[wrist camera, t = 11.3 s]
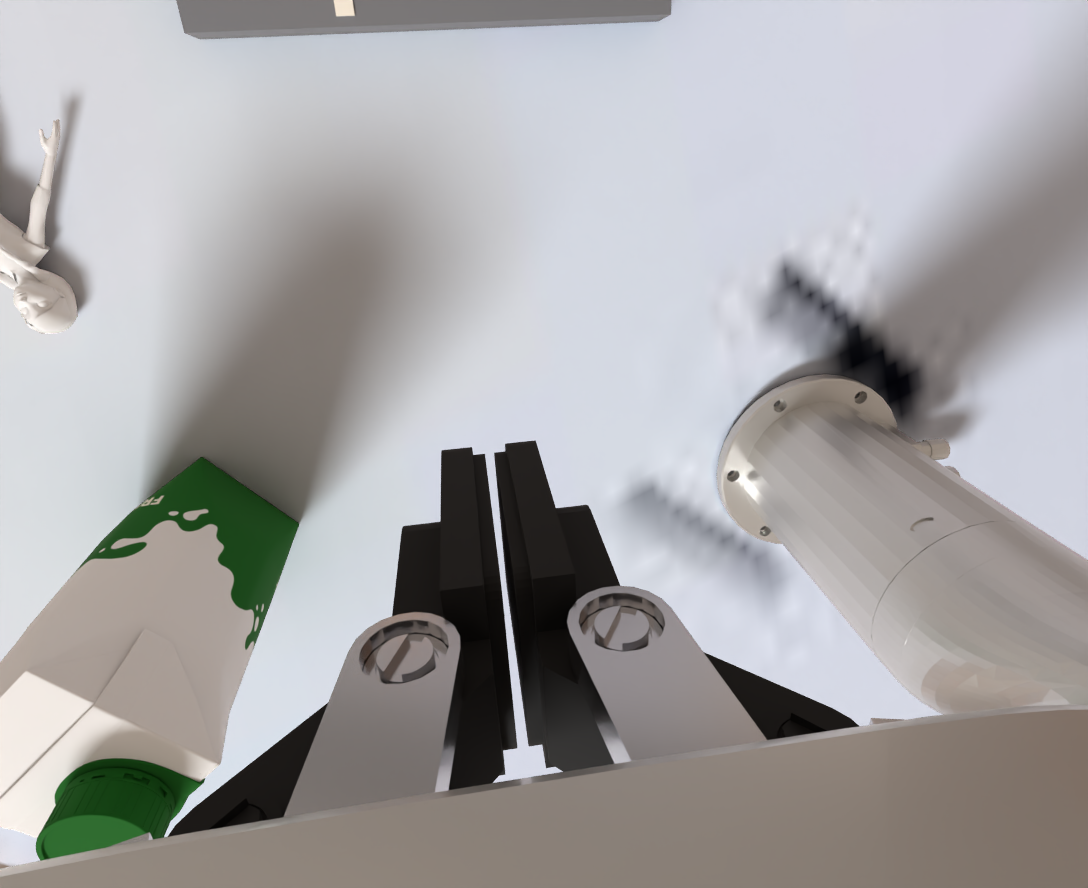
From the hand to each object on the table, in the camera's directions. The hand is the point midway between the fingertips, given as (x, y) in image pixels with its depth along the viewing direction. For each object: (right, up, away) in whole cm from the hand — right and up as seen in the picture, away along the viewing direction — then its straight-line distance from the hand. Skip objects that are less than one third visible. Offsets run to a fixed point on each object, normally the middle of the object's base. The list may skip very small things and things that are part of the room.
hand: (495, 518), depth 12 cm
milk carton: (-20, -4, +29) cm, 35 cm away
